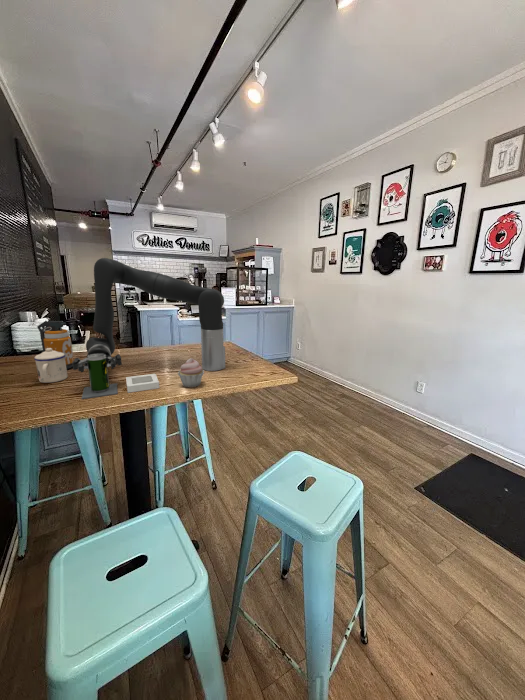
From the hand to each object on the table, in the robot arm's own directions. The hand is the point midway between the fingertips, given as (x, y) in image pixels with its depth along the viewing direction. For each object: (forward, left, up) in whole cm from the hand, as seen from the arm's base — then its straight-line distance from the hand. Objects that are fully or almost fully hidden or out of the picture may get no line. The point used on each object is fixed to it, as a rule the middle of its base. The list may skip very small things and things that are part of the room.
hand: (97, 367), depth 91 cm
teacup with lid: (+16, -21, -9) cm, 28 cm away
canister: (+16, -37, -9) cm, 41 cm away
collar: (-13, -2, -9) cm, 16 cm away
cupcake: (-29, +4, -9) cm, 31 cm away
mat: (0, -2, -9) cm, 9 cm away
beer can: (0, -2, -9) cm, 9 cm away
